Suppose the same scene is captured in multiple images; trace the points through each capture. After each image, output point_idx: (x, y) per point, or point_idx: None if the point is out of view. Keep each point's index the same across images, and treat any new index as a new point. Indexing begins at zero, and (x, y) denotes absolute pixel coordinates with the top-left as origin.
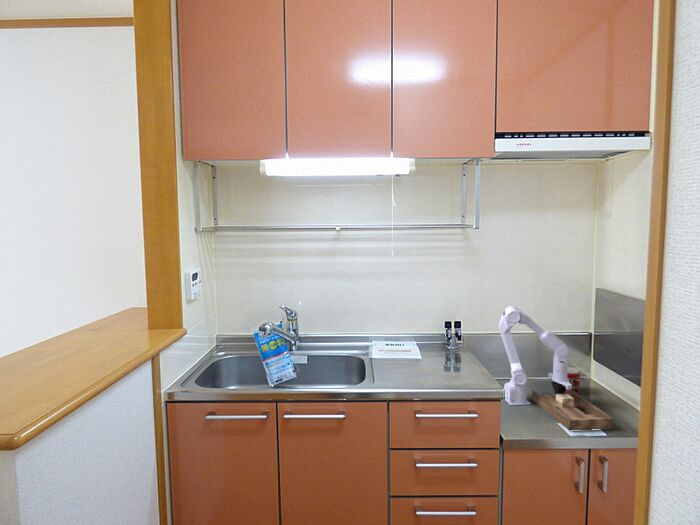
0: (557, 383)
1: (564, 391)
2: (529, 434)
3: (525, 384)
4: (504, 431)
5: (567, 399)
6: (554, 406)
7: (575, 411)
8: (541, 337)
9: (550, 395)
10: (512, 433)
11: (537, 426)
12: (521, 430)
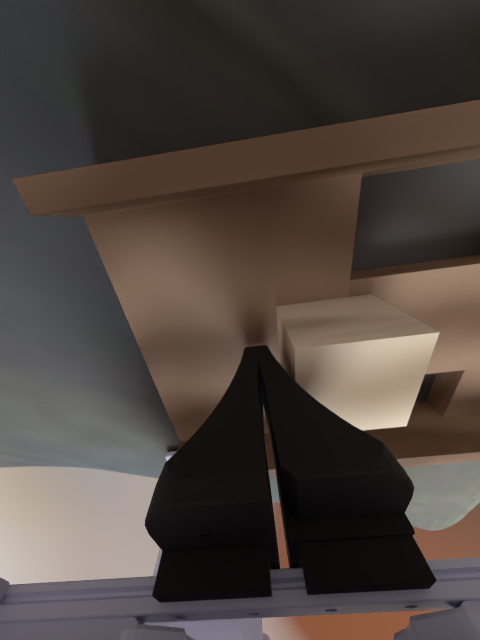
0: (277, 566)
1: (303, 393)
2: (463, 493)
3: (246, 624)
4: (418, 526)
5: (412, 384)
6: (423, 456)
7: (436, 310)
8: None
9: (158, 365)
10: (436, 517)
11: (429, 467)
12: (431, 501)
